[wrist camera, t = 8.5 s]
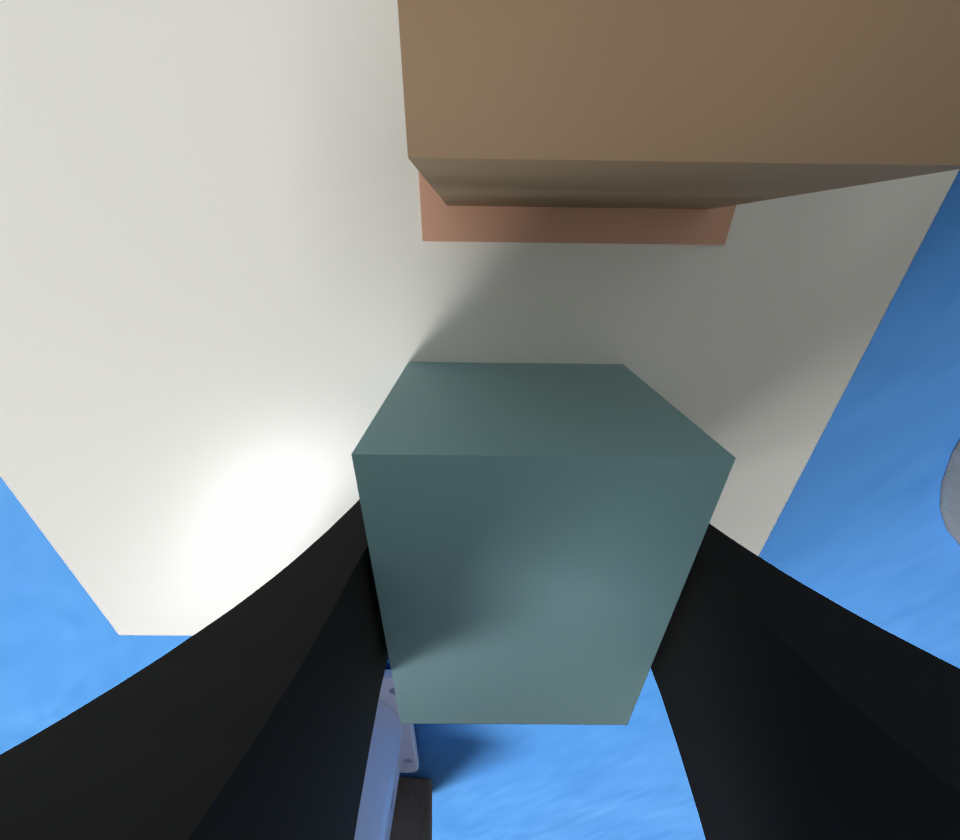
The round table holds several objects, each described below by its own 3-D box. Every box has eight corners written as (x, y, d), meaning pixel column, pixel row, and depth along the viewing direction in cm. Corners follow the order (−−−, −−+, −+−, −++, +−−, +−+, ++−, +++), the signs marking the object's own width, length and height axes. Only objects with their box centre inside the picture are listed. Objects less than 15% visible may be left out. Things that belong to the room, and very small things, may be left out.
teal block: (580, 572, 11) (627, 724, 8) (426, 571, 11) (401, 723, 8) (622, 364, 8) (736, 457, 5) (408, 361, 8) (351, 454, 4)
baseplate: (696, 608, 14) (716, 642, 13) (147, 604, 14) (116, 637, 13) (1175, -449, 4) (1420, -694, 3) (-558, -486, 4) (-935, -751, 3)
